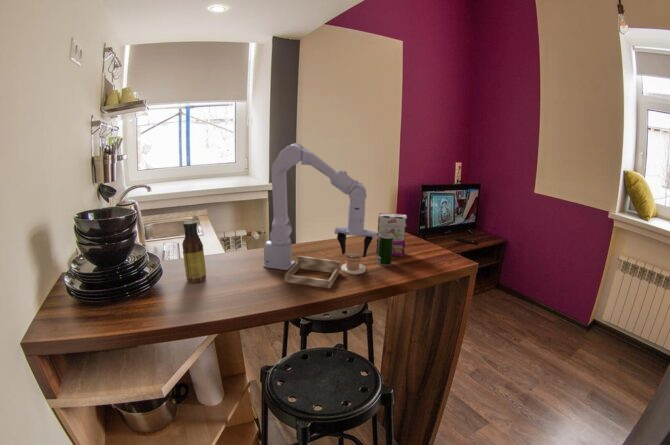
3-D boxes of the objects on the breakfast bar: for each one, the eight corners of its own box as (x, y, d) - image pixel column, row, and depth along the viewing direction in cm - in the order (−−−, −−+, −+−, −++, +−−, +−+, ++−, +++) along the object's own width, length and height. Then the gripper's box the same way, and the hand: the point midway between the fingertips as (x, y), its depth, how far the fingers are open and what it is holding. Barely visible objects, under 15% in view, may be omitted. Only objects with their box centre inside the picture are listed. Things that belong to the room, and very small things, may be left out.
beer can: (383, 267, 136) (385, 236, 133) (374, 262, 141) (376, 232, 137) (394, 264, 139) (396, 234, 136) (384, 259, 144) (387, 230, 140)
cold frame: (284, 281, 122) (284, 269, 121) (297, 267, 134) (297, 255, 133) (329, 288, 119) (330, 275, 118) (339, 272, 131) (339, 261, 129)
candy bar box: (403, 252, 152) (407, 214, 147) (403, 257, 147) (407, 217, 142) (376, 250, 153) (379, 212, 148) (375, 254, 149) (378, 215, 144)
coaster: (338, 272, 131) (338, 270, 131) (344, 262, 139) (344, 261, 139) (363, 275, 129) (363, 274, 129) (367, 266, 137) (367, 264, 137)
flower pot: (343, 269, 132) (344, 257, 131) (348, 264, 137) (348, 252, 135) (357, 272, 130) (358, 259, 129) (361, 266, 135) (362, 254, 134)
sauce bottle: (210, 278, 123) (206, 221, 117) (196, 285, 118) (191, 226, 112) (195, 274, 126) (191, 218, 120) (181, 281, 120) (175, 223, 115)
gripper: (333, 219, 126) (331, 256, 130) (375, 223, 123) (372, 261, 127) (338, 214, 133) (336, 249, 137) (378, 218, 130) (375, 254, 133)
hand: (354, 254), depth 132 cm, fingers open, 7 cm apart
